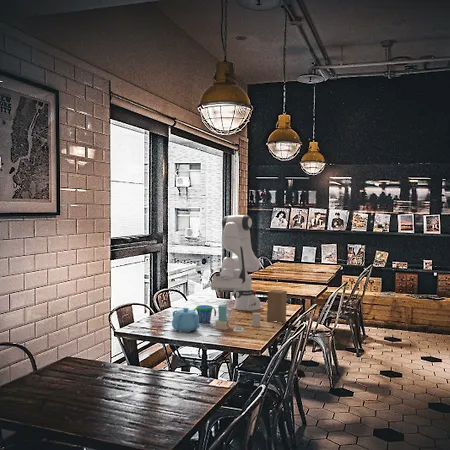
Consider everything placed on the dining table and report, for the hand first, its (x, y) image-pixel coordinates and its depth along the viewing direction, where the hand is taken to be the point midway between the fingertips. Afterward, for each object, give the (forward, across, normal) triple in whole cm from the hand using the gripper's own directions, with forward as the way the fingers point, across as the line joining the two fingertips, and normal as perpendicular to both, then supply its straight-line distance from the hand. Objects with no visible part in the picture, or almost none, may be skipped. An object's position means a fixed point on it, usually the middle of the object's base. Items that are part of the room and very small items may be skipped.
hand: (225, 295), depth 326 cm
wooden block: (+4, -33, -24) cm, 41 cm away
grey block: (+15, -20, -12) cm, 27 cm away
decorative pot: (+28, +22, +2) cm, 36 cm away
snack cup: (+12, +14, -14) cm, 23 cm away
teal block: (+18, +1, -1) cm, 18 cm away
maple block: (+21, +1, -5) cm, 22 cm away
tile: (+23, -10, -3) cm, 25 cm away
